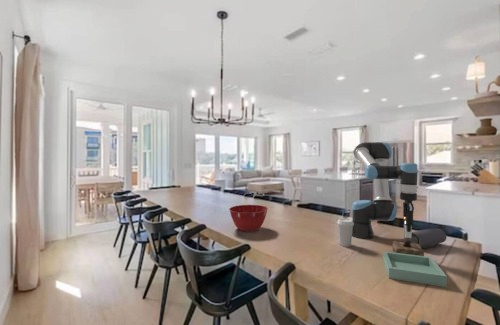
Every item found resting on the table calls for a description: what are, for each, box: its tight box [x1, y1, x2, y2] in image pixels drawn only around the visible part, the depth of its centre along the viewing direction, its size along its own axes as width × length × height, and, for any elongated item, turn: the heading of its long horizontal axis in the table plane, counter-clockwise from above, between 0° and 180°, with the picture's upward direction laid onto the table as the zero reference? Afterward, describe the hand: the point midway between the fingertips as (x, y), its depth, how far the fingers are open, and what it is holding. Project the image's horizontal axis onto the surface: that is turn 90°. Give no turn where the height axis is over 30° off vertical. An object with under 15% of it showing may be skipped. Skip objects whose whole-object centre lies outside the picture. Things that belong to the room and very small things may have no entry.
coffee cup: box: [337, 218, 354, 248], centre depth 153 cm, size 10×10×15 cm
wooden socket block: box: [392, 240, 425, 256], centre depth 134 cm, size 12×12×6 cm
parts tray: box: [382, 250, 448, 288], centre depth 117 cm, size 21×21×4 cm
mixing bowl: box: [228, 204, 268, 233], centre depth 186 cm, size 28×28×16 cm
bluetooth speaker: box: [411, 228, 447, 249], centre depth 150 cm, size 23×9×10 cm, turn 111°
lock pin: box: [403, 217, 411, 247], centre depth 134 cm, size 4×4×15 cm
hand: (407, 236), depth 134 cm, fingers closed on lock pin, 3 cm apart
